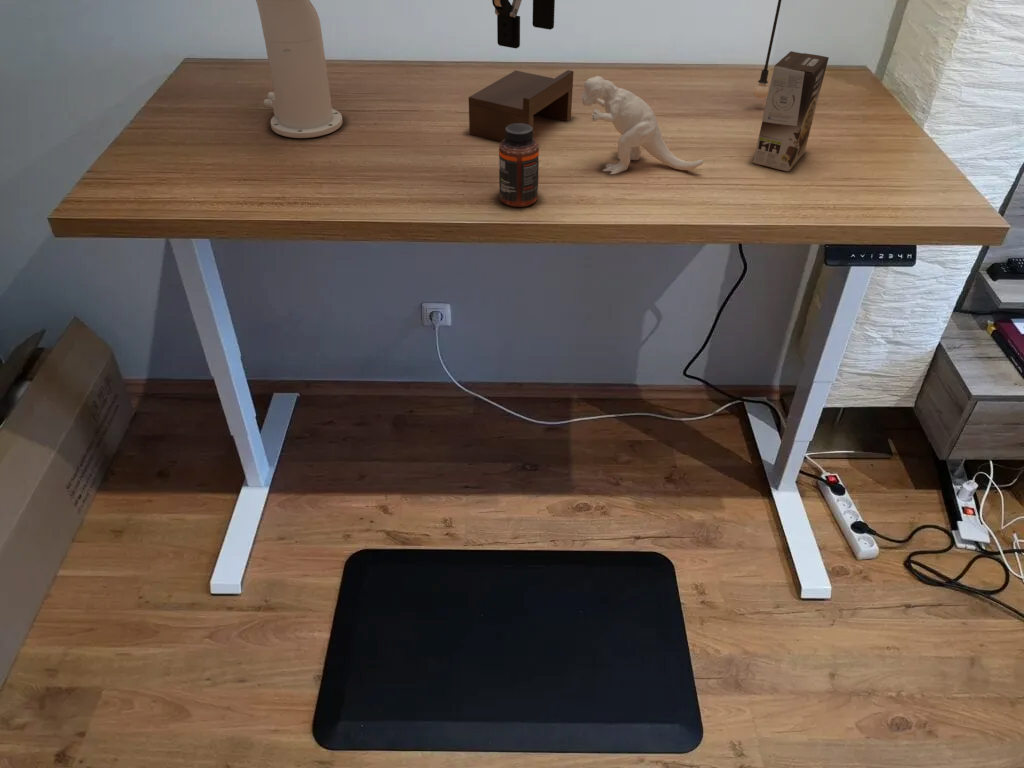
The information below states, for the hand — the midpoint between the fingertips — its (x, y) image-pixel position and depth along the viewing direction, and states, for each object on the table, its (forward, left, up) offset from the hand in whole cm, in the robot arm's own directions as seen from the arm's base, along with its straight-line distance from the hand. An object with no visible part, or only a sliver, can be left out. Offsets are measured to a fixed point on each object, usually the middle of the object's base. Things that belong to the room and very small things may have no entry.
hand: (526, 36), depth 111 cm
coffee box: (+31, +33, -23) cm, 51 cm away
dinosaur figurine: (+12, +18, -23) cm, 32 cm away
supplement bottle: (+1, -3, -23) cm, 23 cm away
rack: (-13, +22, -23) cm, 34 cm away
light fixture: (+21, +53, -23) cm, 61 cm away
